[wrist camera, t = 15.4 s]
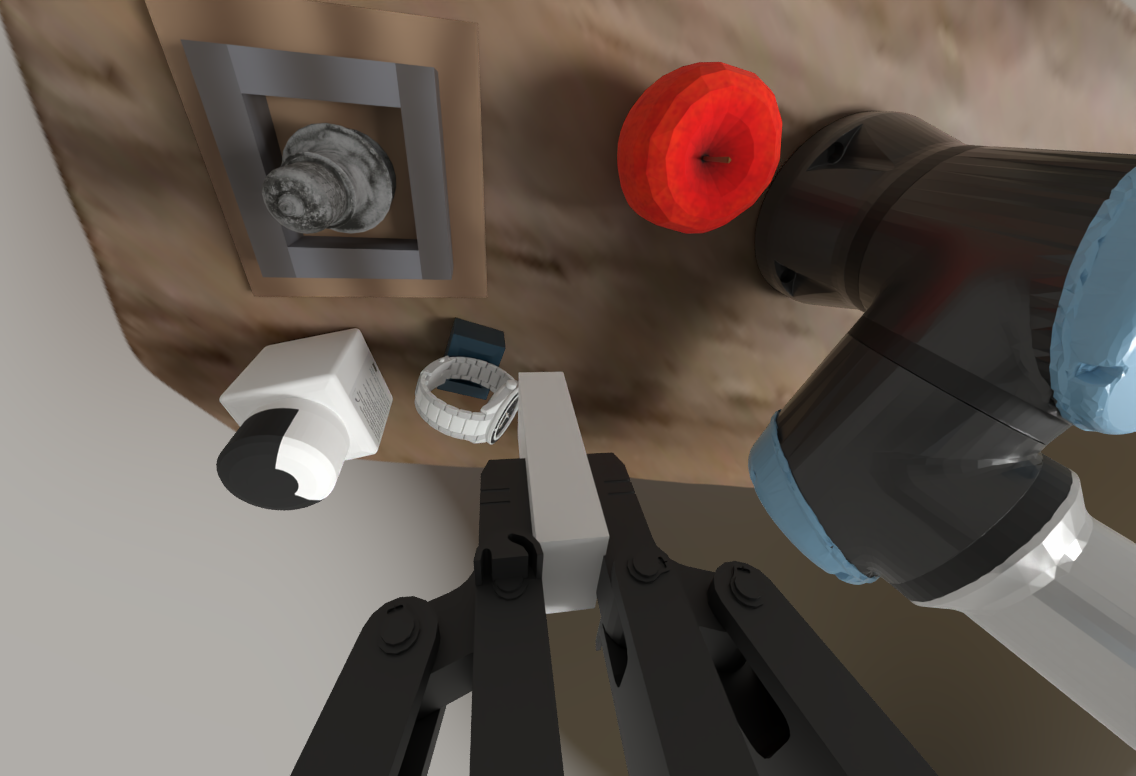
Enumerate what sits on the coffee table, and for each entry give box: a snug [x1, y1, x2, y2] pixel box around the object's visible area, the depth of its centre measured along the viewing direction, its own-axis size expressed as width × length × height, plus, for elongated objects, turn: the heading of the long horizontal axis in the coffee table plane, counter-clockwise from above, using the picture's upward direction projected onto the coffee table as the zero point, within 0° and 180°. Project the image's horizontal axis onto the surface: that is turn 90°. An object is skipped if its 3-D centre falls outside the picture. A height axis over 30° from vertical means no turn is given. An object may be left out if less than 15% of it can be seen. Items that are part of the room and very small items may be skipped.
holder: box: [145, 0, 487, 298], centre depth 26 cm, size 17×17×4 cm
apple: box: [617, 62, 782, 234], centre depth 26 cm, size 9×9×11 cm
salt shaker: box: [262, 123, 396, 234], centre depth 22 cm, size 6×6×12 cm
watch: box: [415, 318, 519, 444], centre depth 32 cm, size 6×8×11 cm
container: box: [216, 328, 393, 510], centre depth 30 cm, size 8×8×13 cm
